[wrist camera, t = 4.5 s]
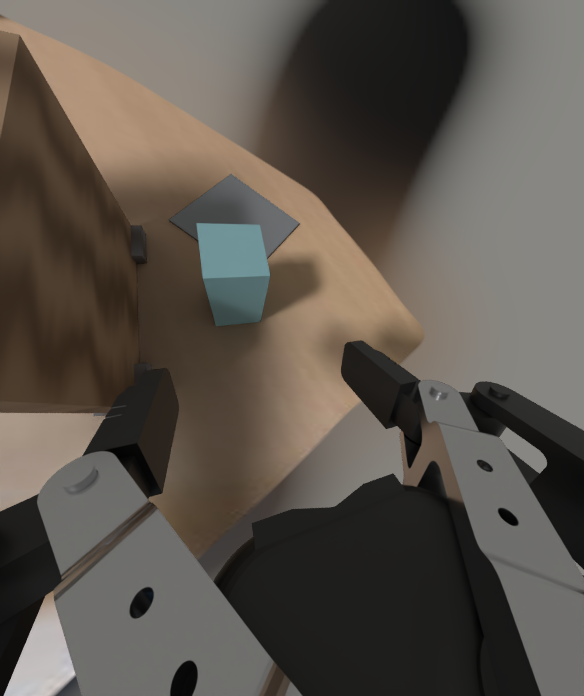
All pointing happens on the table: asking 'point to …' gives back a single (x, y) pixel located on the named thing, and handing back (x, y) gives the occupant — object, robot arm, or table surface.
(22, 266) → the walnut screen
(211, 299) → the teal block
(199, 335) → the table surface
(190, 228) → the rubber mat
